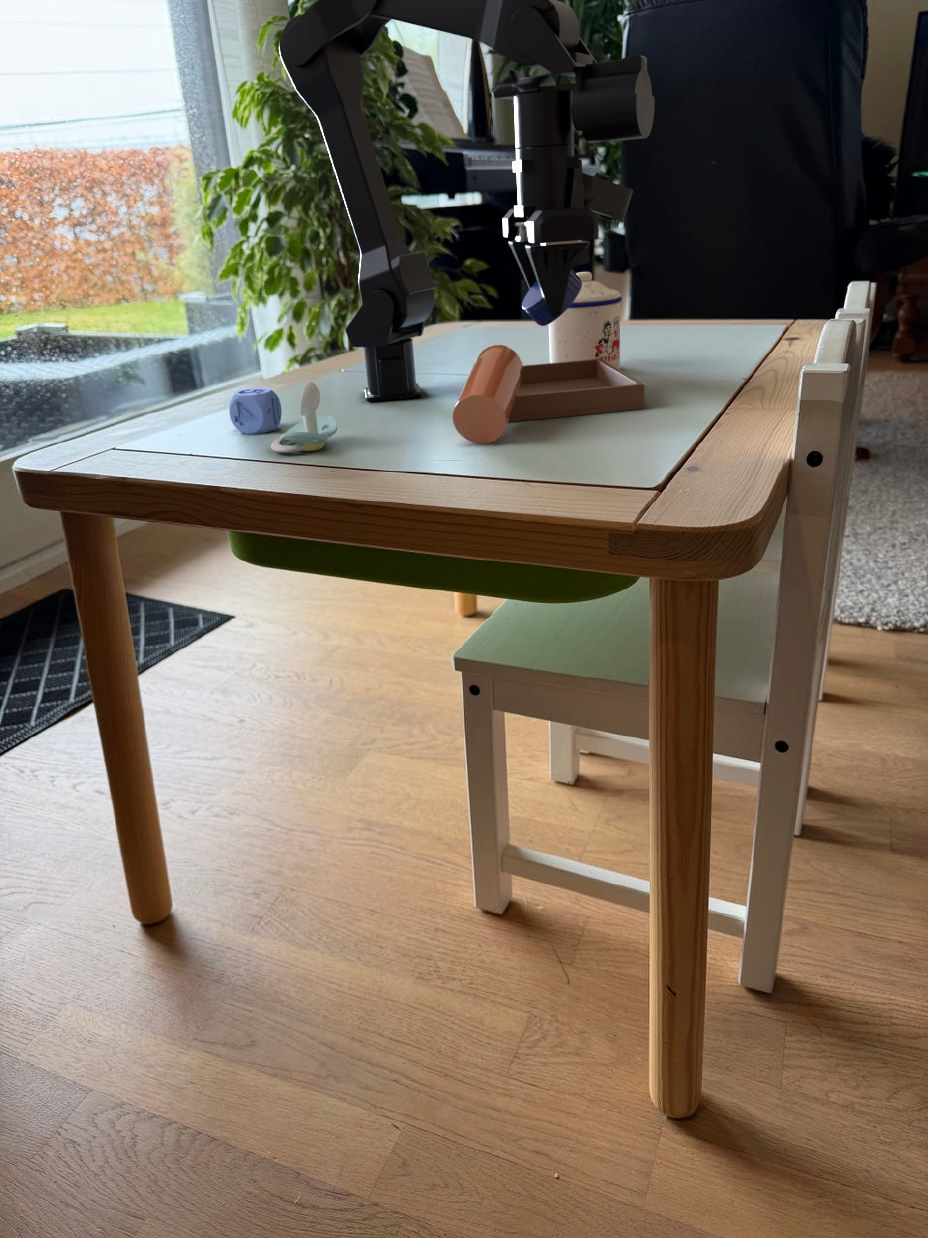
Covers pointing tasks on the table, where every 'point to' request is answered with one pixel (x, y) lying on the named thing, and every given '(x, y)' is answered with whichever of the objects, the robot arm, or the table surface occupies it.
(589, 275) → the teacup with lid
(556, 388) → the tray
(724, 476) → the table surface
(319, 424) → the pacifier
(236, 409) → the decorative dice
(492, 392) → the jar
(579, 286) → the lid
